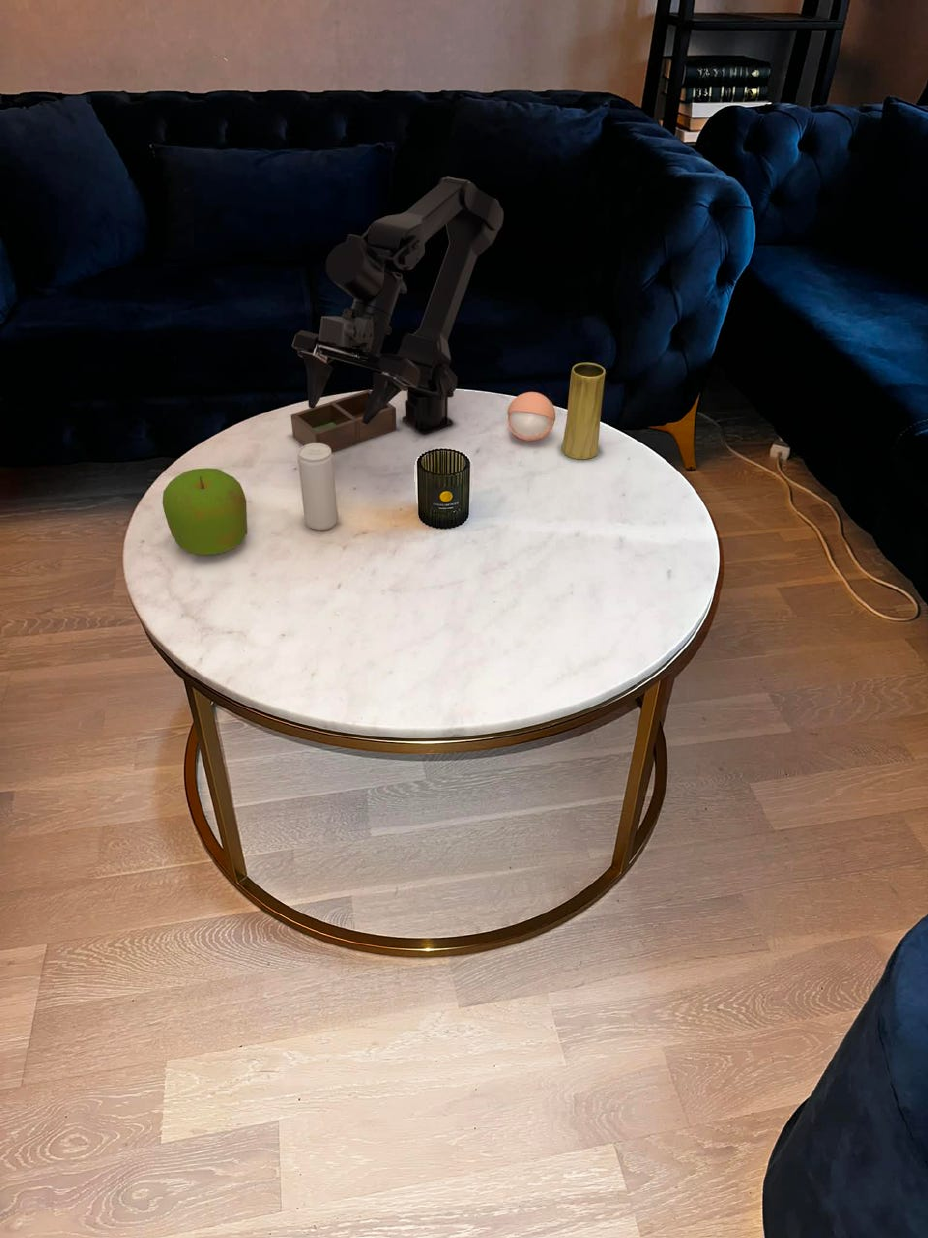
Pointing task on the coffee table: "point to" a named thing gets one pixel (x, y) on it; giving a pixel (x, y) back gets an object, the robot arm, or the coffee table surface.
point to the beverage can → (318, 486)
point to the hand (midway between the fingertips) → (337, 415)
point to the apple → (206, 511)
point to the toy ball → (531, 416)
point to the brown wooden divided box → (341, 422)
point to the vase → (584, 411)
